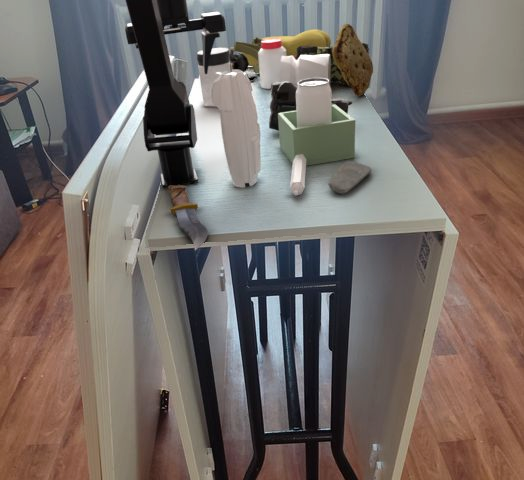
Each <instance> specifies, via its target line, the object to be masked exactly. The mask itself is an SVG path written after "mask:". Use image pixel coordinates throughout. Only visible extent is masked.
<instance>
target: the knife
mask: <svg viewBox="0 0 524 480" xmlns="http://www.w3.org/2000/svg"><path fill="white" fill-rule="evenodd" d="M167 189H168V191H169V195H170V196H169V197H170V200H171V202H172V204H173V207H170V208H169V210H170V213H171V214H173V215H176V218H177V223H178V227H179V230H181V231H182V232H183V233H185V235H187V236H188V237H189V239H190V241H191V242H192V244H193V248H194V251H195V252H196V251H197V250H198V249H199V248H200V247H202V245H203V244H204V243H205V242H206V240H207V237H208V234H209V233H208V232H209V231H208V229H207V227H206V226H205V224H203V223H202V221H201V220H200V219H199V217H198V215H197V212H196V211H197V210H198V208H199V205H198V203H190V199H189V196H188V194H187V191H186V190H187V187H186V186H185V185H183V184H182V185H170V186H169V187H167Z"/></svg>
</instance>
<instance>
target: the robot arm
mask: <svg viewBox="0 0 524 480" xmlns="http://www.w3.org/2000/svg"><path fill="white" fill-rule="evenodd" d="M125 4H126V8H127V12H128V16H129V19H130V22H129V23H126V25H125V26H124V31H125V32H124V33H125V35H126V36H125V38H126V41H127V44H128V45H135V49H138V52H139V56H140V59H141V64H142V67H143V71H144V75H145V79H146V83H147V85H148V92H147V96H146V99H145V104H144V112H143V117H142V124H143V125H142V128H143V140H144V146H145V148H146V151H147V152H152V151H157V155H158V159H159V163H160V168H161V169H160V170H161V172H160V178H161V184H162V188H168V187H169V186H170V185H176V186H180V185H182V186H183V185H188V184H193V183H197V182H199V178H198V175H197V172H196V169H195V167H194V166H193V160H192V159H193V158H192V153H191V149H194V148H195V147H196V144H197V142H198V131H197V123H196V121H197V120H196V114H195V113H196V112H195V108H194V105H193V104H192V103H190V99H189V96H188V92H187V86H186V85H185V83H184V82H183V81H178V79H176V77H175V75H174V71H173V66H172V63H171V58H170V57H171V56H170V54H169V49H168V45H167V40H166V35H173V34H180V33H186V32H187V33H188V32H194V31H200V30H201V32H200V33H201V34H200V35H201V41H202V42H201V43H202V50H203V66H204V72H205V74H207V72H208V66H209V61H210V55H211V51H212V48H214V44H215V40H216V39H217V38H220V37H221V33H222V32H226V31H227V27H226V19H225V16H224V15H223V14H222V13H220V12H219V11H214V12H213V11H212V12H211V11H210V12H205V13H200V18H194V19H190V17H189V11H188V3H187V0H125ZM166 26H168V28H165V27H166ZM166 135H167V136H166Z"/></svg>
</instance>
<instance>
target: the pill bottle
mask: <svg viewBox="0 0 524 480" xmlns="http://www.w3.org/2000/svg"><path fill="white" fill-rule="evenodd" d="M261 47H262V48H261V49H260V50H259V52H258V62H259V73H258V74H259V83H260V84H259V85H260V87H261V89H266V90H271V85H272V83H277V82H280V62H281V57H282V56H287V53H286V49H285V48H284V47H283V46H282V39H278V38H274V39H266V40H263V41H261Z"/></svg>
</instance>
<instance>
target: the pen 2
mask: <svg viewBox="0 0 524 480" xmlns="http://www.w3.org/2000/svg"><path fill="white" fill-rule="evenodd" d="M348 101H349V100H348V99H343V98H332V103H334V102H348Z"/></svg>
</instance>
